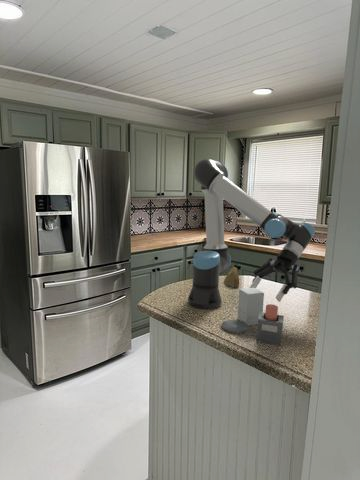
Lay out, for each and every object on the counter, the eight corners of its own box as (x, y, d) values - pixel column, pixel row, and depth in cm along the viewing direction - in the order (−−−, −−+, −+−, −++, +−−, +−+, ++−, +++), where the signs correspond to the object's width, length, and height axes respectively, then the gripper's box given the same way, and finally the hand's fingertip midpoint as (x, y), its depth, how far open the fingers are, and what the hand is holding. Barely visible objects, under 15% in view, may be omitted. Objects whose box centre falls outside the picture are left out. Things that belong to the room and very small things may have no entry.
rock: (244, 284, 169) (243, 277, 178) (235, 272, 167) (234, 265, 177) (227, 294, 172) (227, 286, 181) (218, 282, 170) (218, 275, 180)
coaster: (218, 330, 118) (218, 328, 118) (224, 320, 127) (225, 318, 127) (245, 335, 114) (246, 333, 114) (250, 325, 124) (250, 322, 123)
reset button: (263, 325, 110) (265, 307, 109) (265, 321, 114) (266, 303, 113) (275, 328, 109) (277, 309, 108) (276, 323, 113) (278, 305, 112)
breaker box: (256, 341, 110) (257, 319, 109) (259, 332, 117) (260, 312, 116) (280, 345, 108) (282, 323, 106) (281, 337, 114) (283, 315, 113)
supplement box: (262, 323, 125) (264, 292, 123) (245, 325, 123) (247, 294, 121) (253, 316, 132) (255, 287, 130) (236, 318, 130) (238, 288, 128)
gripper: (320, 265, 126) (294, 309, 120) (270, 254, 146) (245, 291, 140) (314, 253, 122) (286, 298, 116) (263, 243, 142) (237, 281, 136)
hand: (263, 294), depth 128 cm, fingers open, 13 cm apart
